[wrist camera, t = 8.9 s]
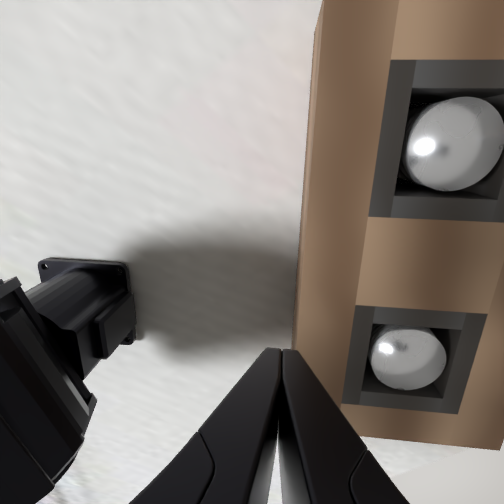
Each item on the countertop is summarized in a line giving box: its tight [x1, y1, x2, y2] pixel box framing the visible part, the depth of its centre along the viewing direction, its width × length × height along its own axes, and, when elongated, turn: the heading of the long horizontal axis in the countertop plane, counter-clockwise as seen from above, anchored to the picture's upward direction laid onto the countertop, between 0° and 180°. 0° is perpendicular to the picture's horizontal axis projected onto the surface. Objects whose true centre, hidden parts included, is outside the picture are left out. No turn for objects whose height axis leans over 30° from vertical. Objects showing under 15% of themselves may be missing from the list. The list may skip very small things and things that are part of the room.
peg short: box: [397, 97, 504, 191], centre depth 16 cm, size 4×4×5 cm
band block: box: [291, 0, 504, 450], centre depth 18 cm, size 12×22×5 cm, turn 179°
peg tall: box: [367, 323, 446, 390], centre depth 19 cm, size 4×4×5 cm
